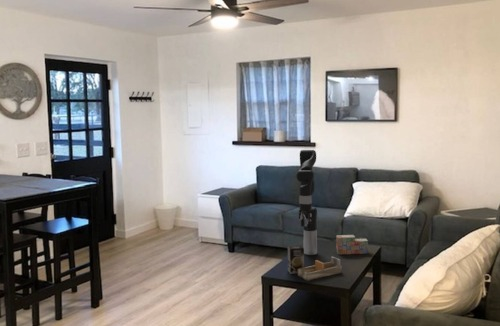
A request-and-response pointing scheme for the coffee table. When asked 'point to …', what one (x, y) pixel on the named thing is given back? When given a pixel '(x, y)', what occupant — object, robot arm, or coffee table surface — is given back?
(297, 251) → the coffee box
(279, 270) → the coffee table surface
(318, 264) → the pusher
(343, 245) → the stack of blocks
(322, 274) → the wooden tray
